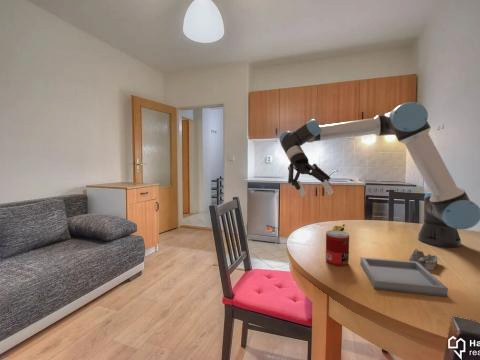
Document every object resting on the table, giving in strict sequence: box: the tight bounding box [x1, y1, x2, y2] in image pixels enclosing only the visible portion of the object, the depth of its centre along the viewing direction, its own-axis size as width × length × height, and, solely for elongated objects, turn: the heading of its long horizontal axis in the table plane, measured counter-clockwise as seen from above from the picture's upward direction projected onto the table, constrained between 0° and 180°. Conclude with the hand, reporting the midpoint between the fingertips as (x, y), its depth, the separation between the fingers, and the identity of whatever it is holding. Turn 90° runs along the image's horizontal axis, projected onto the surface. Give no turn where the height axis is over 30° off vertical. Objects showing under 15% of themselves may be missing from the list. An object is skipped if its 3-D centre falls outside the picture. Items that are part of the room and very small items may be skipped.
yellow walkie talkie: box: [332, 224, 346, 231], centre depth 136 cm, size 5×2×15 cm
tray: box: [359, 256, 449, 298], centre depth 77 cm, size 18×18×2 cm
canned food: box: [325, 229, 350, 267], centre depth 90 cm, size 8×8×11 cm
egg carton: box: [408, 248, 440, 271], centre depth 87 cm, size 11×8×4 cm
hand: (318, 194), depth 98 cm, fingers open, 13 cm apart
